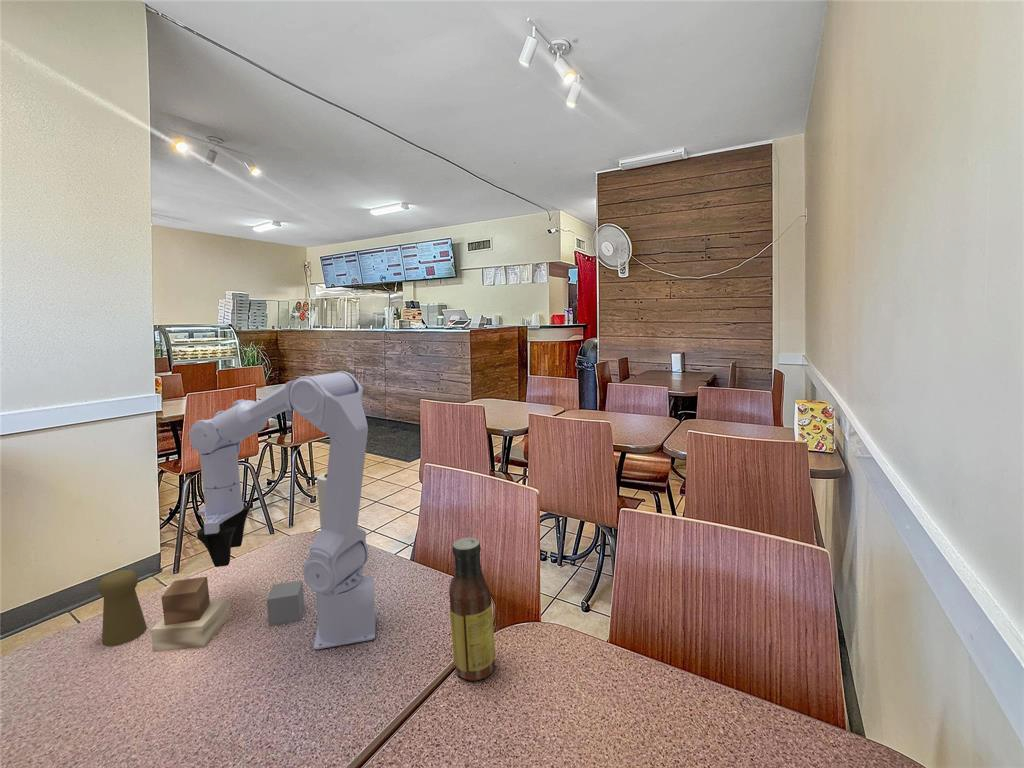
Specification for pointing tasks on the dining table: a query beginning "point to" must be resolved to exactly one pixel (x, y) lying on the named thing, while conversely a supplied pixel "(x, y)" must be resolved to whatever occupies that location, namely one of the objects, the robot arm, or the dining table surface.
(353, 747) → the dining table surface
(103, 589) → the olive round-headed peg
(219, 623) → the sticky note pad
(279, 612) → the slate cube
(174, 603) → the walnut cube
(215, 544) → the robot arm
